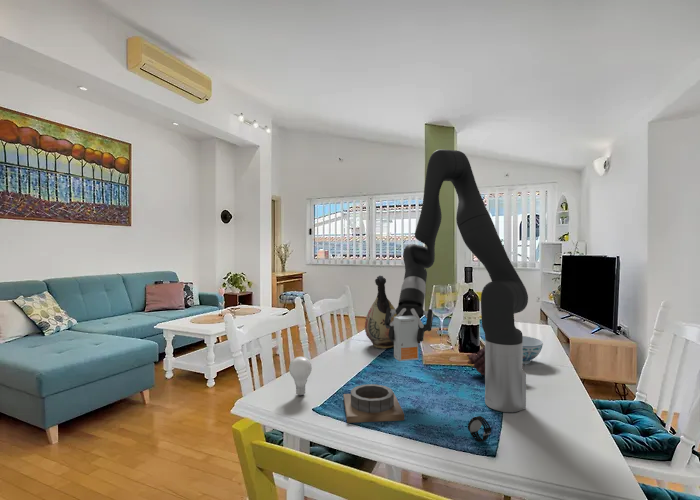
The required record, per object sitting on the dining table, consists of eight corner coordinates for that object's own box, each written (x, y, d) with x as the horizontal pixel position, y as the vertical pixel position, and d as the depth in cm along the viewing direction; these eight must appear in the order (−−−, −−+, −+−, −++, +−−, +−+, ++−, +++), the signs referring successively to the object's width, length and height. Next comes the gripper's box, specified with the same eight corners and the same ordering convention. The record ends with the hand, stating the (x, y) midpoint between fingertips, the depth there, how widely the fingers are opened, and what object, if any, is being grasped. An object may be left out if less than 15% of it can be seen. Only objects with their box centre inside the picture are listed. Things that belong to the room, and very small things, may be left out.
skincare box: (399, 362, 107) (398, 319, 107) (393, 357, 111) (393, 316, 111) (419, 359, 109) (418, 317, 108) (413, 355, 113) (412, 315, 113)
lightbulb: (284, 397, 108) (284, 358, 108) (298, 389, 114) (297, 352, 114) (303, 401, 105) (303, 361, 105) (316, 393, 111) (315, 355, 111)
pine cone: (525, 377, 123) (525, 346, 123) (520, 387, 114) (520, 354, 114) (469, 368, 132) (469, 339, 132) (461, 376, 124) (461, 345, 124)
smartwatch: (483, 434, 86) (483, 412, 86) (492, 446, 81) (492, 423, 81) (465, 435, 86) (465, 413, 86) (473, 447, 81) (473, 423, 81)
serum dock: (393, 397, 108) (393, 381, 108) (404, 420, 94) (404, 401, 94) (343, 399, 107) (343, 383, 106) (347, 422, 93) (347, 404, 92)
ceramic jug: (364, 341, 170) (364, 273, 169) (399, 341, 169) (399, 273, 169) (364, 352, 153) (364, 276, 152) (403, 352, 152) (403, 276, 152)
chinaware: (498, 365, 135) (498, 343, 135) (497, 353, 149) (497, 334, 149) (546, 369, 130) (546, 347, 130) (539, 357, 144) (539, 336, 144)
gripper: (387, 286, 119) (377, 332, 108) (434, 287, 114) (429, 335, 103) (392, 301, 124) (383, 346, 113) (437, 302, 119) (432, 349, 108)
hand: (405, 340), depth 108 cm, fingers closed on skincare box, 7 cm apart
